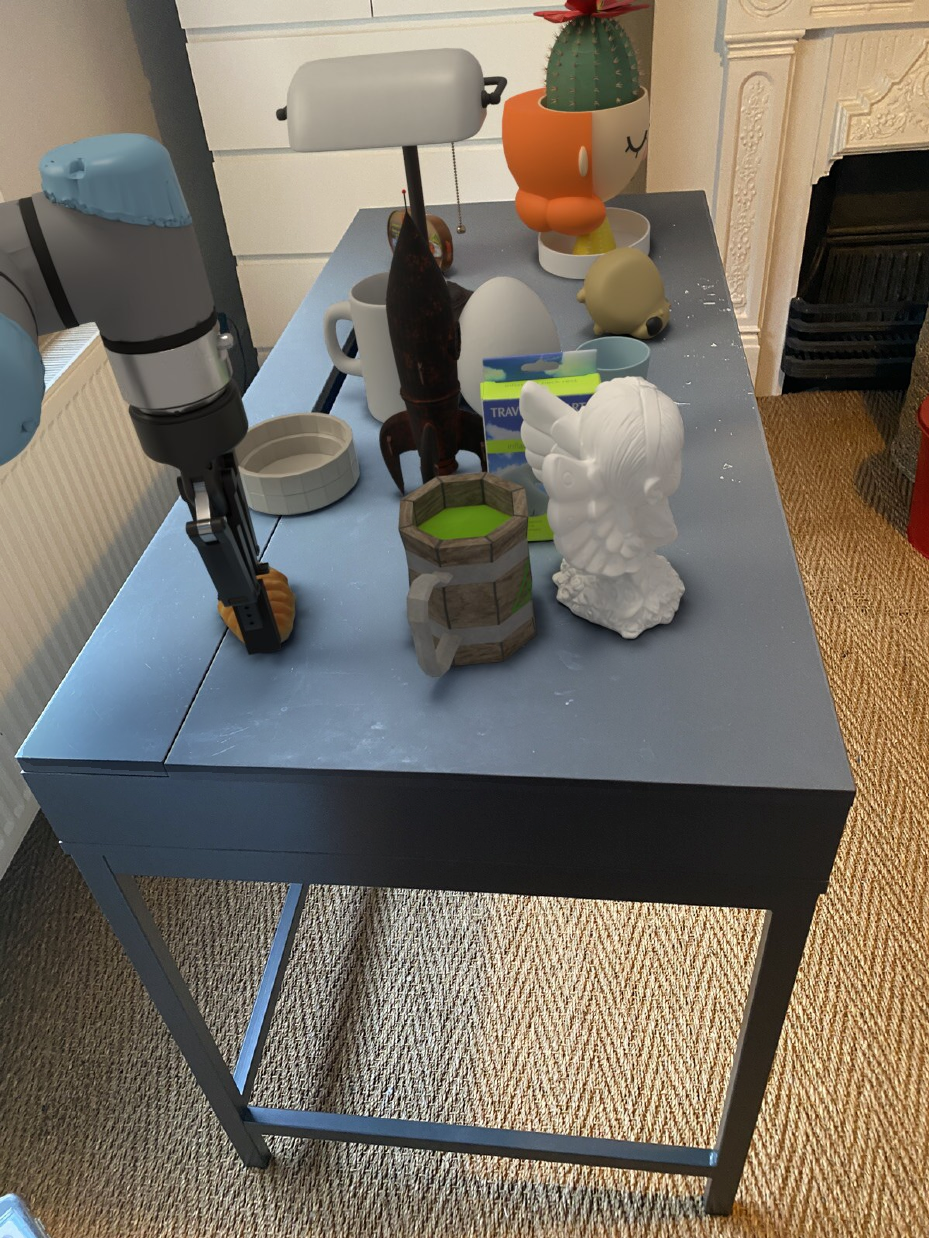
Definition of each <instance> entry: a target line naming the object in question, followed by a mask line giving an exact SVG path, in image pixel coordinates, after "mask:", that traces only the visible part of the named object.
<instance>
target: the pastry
mask: <svg viewBox="0 0 929 1238" xmlns="http://www.w3.org/2000/svg"><path fill="white" fill-rule="evenodd" d="M258 562H259V564H260V563H263V562H261V561H258ZM269 568H270V574H265V575H258V576H256V577H257V579H262V578H263V582H264V585H265V588H266V591H267V595H268V598H269V601H270V604H271V607H272V611H273V614H274V617H275V620H276V624H277V627H278V630H279V633H280V637H281V644H282V643H283V642H285V641H286V640H288V639H289V637H290V635H291V633H292V631H293V629H294V620H295V618H296V600H297V597H296V595H295V594H294V592H293V591H292V589H291V587H290V585H289V579H288V578H289V577H288V576H286V575H285V574H284V573H282V572H281V571H279V570H277V569H275V568H274V567H272V566H270V565H269ZM217 612H218V613H219V615H220V616H221V618H222V620H223V622H224V625H226V627H228V629H229V630H230V631H231V632H232V633H233V634H234V635H235V636H236V637H237V638H238V639H239V640H240V641H241V642H242V644H243V645H245V642H244V640H243V637H242V634H241V631H240V628H239V625H238V622H237V619H236V616H235V613H234V611H233V608H232V606H231V607H224V605H223V603H222V602H221V601H218V600H217Z"/></svg>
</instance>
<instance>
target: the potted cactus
mask: <svg viewBox="0 0 929 1238" xmlns="http://www.w3.org/2000/svg"><path fill="white" fill-rule="evenodd" d="M636 1H637V0H621V1H617V0H566V1H565V3H564V8H565V9H566V10H539V11H535V12H533V13H532V15H533V16H535V17H539V18H543V20H545V21H548V22H550V23H552V24H554V25H555V24H556V25H557V24H558V25H557V27H558V29H559V30H557V33H558V34H559V35H558V34H557V33H556V30H554V34H553V36H551V38H552V39H554V38H555V39H554V43H553V46H552V45H549V47H548V46H547V47H546V46H545V47H546V48H547V49H548V50H546V51H548V52H550V54H548V53H545V56H544V59H545V61H546V62H547V65H546V66H547V67H546V66H545V65H541V69H540V71H541V72H543V76H546V77H545V78H544V77H542V78H541V80H539V81H540V82H539V83H540V84H542V85H543V87H540V88H536V89H532V90H528V91H524V92H521V93H518V94H515V95H513V96H510V97H509V98H508V99H506V100H505V101H504V103H503V110H502V116H501V117H502V118H501V142H502V147H503V155H504V159H505V162H506V166H507V168H508V170H509V172H510V174H511V175H512V178H513V179H514V182H515V183H516V185H517V187H518V190H517V191H516V193H515V197H514V205H515V210H516V214H517V216H518V218H519V219H520V221H521V222H522V223H523V224H524V225H525V226H527V228H529V229H530V230H532V231H536V232H538V235H537V244H538V261H539V264H540V266H541V268H543V270H545V271H546V272H548V273H550V274H552V275H555V276H557V277H560V278H566V279H572V280H573V279H574V280H585V277H586V274H587V272H588V270H589V268H590V267H591V266H592V264H593V263H594V262H595V261H596V260H597V259H598V258H599V257H601V256H602V255H604V254H605V253H607V252H609V251H611V250H614V249H617V248H621V247H632V248H636V249H639V250H641V251H642V252H644V253H645V254H646V255H647V256H648V257H649V254H650V249H651V224H650V220H648V218H647V217H646V216H645V215H643V214H641V213H639V212H637V211H634V210H631V209H626V208H621V207H609V206H608V207H606V204H605V203H606V202H608V201H609V200H611V199H613V198H615V197H616V196H618V195H619V194H620V193H621V192H623V190H624V189H625V188H626V187H627V186H628V185H629V184H630V182H632V180H634V178H635V174H636V172H637V171H638V169H639V167H640V165H641V162H643V161H645V159H646V158H647V155H648V150H649V149H648V139H649V133H650V132H649V131H650V126H651V123H650V118H651V117H650V99H649V92H648V89H646V87H645V86H646V84H643V85H642V81H643V79H642V77H640V78H639V76H643V75H646V73H644V71H645V70H642V69H640V68H641V66H642V65H643V63H641V62H642V59H641V58H639V59H638V57H640V56H641V55H640V54H641V53H638V51H639V50H641V48H639V49H638V48H637V49H636V47H637V44H634V45H633V46H632V43H633V42H634V41H637V38H636V39H634V35H632V34H633V32H630V31H631V30H632V29H631V28H629V27H630V25H628V24H624V26H623V27H622V26H621V25H622V24H623V23H624V22H625V20H626V19H625V20H624V19H623V17H621V16H622V15H625V14H628V13H632V12H636V11H639V10H642V9H644V10H645V9H648V8H650V7H651V6H652V5H651V4H649V3H647V4H646V3H643V4H634V5H633V4H632V2H636ZM617 17H618V19H617V20H616V18H617ZM563 24H564V25H563ZM629 32H630V34H629V35H628V36H627V33H629ZM635 49H636V50H635ZM634 50H635V51H634ZM636 54H638V55H637V57H636ZM638 65H640V66H638ZM639 83H640V84H639Z"/></svg>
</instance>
